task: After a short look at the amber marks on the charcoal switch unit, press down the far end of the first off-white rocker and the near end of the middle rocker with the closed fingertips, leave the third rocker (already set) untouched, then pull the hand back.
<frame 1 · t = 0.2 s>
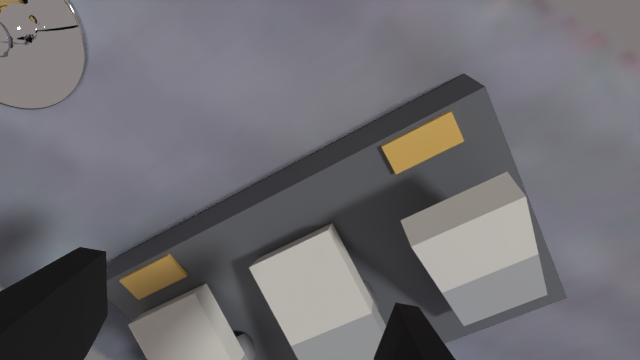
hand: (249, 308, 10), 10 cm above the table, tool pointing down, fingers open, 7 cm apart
wineglass: (14, 32, 17), on the table
rocker b: (334, 316, 18), point 4 cm above the table, hinge at 20.0°
rocker a: (474, 248, 17), point 4 cm above the table, hinge at -20.0°
switch unit: (330, 260, 22), on the table
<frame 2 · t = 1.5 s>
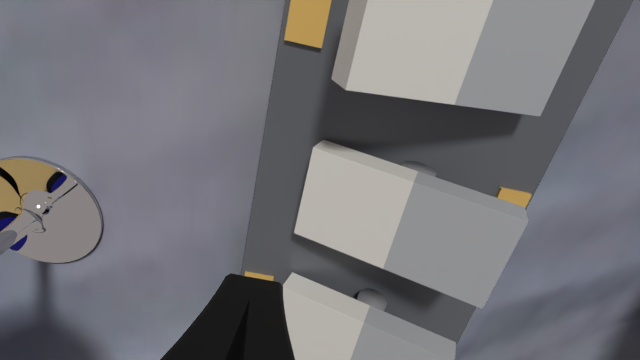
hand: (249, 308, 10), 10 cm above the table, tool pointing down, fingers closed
wineglass: (44, 208, 21), on the table
rocker b: (402, 214, 16), point 4 cm above the table, hinge at 20.0°
rocker c: (359, 335, 19), point 4 cm above the table, hinge at 20.0°
rocker a: (452, 35, 13), point 4 cm above the table, hinge at -20.0°
switch unit: (384, 173, 20), on the table
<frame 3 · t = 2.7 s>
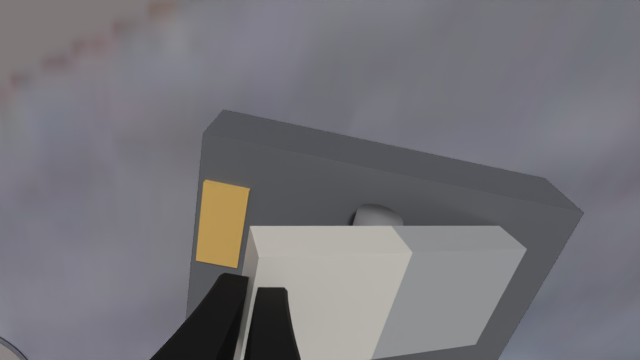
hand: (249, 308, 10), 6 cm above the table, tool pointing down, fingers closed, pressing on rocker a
rocker a: (371, 278, 12), point 4 cm above the table, hinge at -19.7°, touching gripper
switch unit: (328, 341, 19), on the table
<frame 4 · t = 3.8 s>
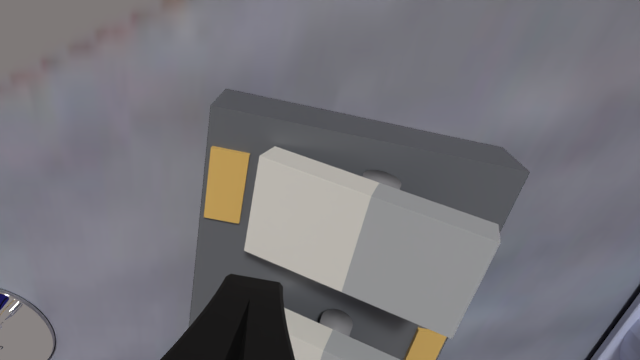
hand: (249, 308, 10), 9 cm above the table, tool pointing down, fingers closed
rocker a: (364, 229, 14), point 4 cm above the table, hinge at 20.1°
switch unit: (318, 298, 21), on the table
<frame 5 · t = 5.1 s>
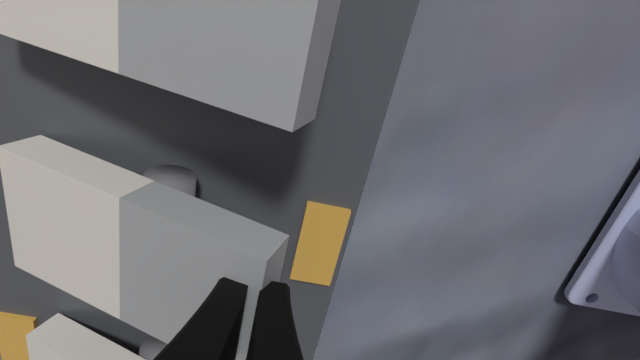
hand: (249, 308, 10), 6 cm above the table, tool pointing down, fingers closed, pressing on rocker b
rocker b: (154, 240, 11), point 4 cm above the table, hinge at 19.8°, touching gripper
switch unit: (187, 180, 15), on the table
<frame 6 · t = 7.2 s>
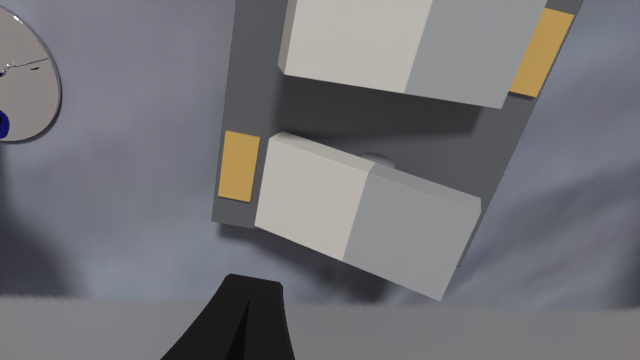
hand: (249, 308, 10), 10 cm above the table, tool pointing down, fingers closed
rocker b: (405, 23, 13), point 4 cm above the table, hinge at -16.0°
rocker c: (362, 206, 16), point 4 cm above the table, hinge at 20.0°
switch unit: (392, 17, 17), on the table
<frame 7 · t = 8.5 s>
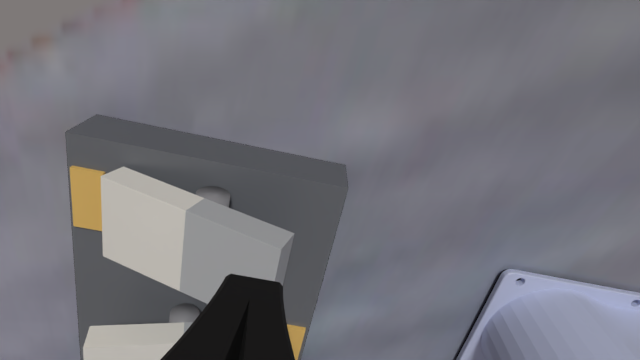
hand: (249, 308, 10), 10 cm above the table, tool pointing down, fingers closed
rocker b: (181, 350, 20), point 4 cm above the table, hinge at -15.1°
rocker a: (201, 237, 17), point 4 cm above the table, hinge at 19.1°
switch unit: (205, 296, 23), on the table
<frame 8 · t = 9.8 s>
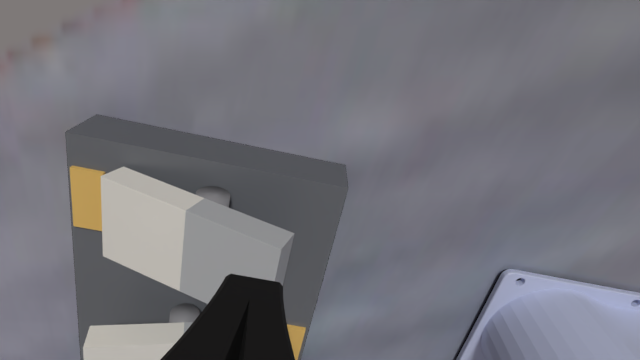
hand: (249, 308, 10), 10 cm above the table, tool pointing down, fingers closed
rocker b: (181, 350, 20), point 4 cm above the table, hinge at -15.0°
rocker a: (201, 237, 17), point 4 cm above the table, hinge at 19.1°
switch unit: (205, 296, 23), on the table
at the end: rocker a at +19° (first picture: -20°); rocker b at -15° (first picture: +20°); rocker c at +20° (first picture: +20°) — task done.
